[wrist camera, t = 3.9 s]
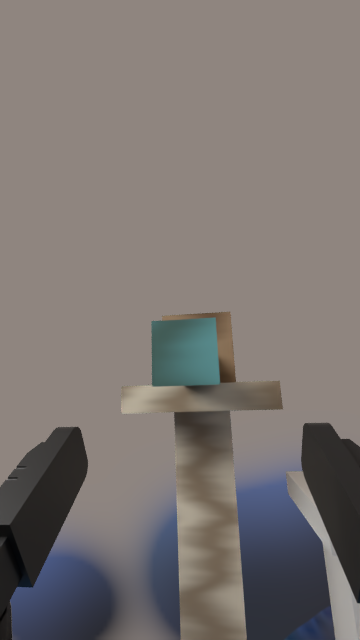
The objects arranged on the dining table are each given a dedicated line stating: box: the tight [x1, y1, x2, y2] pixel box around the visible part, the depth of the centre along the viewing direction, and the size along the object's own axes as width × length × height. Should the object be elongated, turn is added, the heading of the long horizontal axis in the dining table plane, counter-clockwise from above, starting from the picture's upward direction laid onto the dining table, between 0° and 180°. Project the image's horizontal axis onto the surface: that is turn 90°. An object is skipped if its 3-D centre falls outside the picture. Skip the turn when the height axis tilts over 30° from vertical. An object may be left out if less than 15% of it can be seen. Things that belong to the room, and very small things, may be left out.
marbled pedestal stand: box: [121, 381, 283, 640], centre depth 22 cm, size 12×10×32 cm
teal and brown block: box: [152, 312, 236, 387], centre depth 20 cm, size 6×20×6 cm, turn 174°
